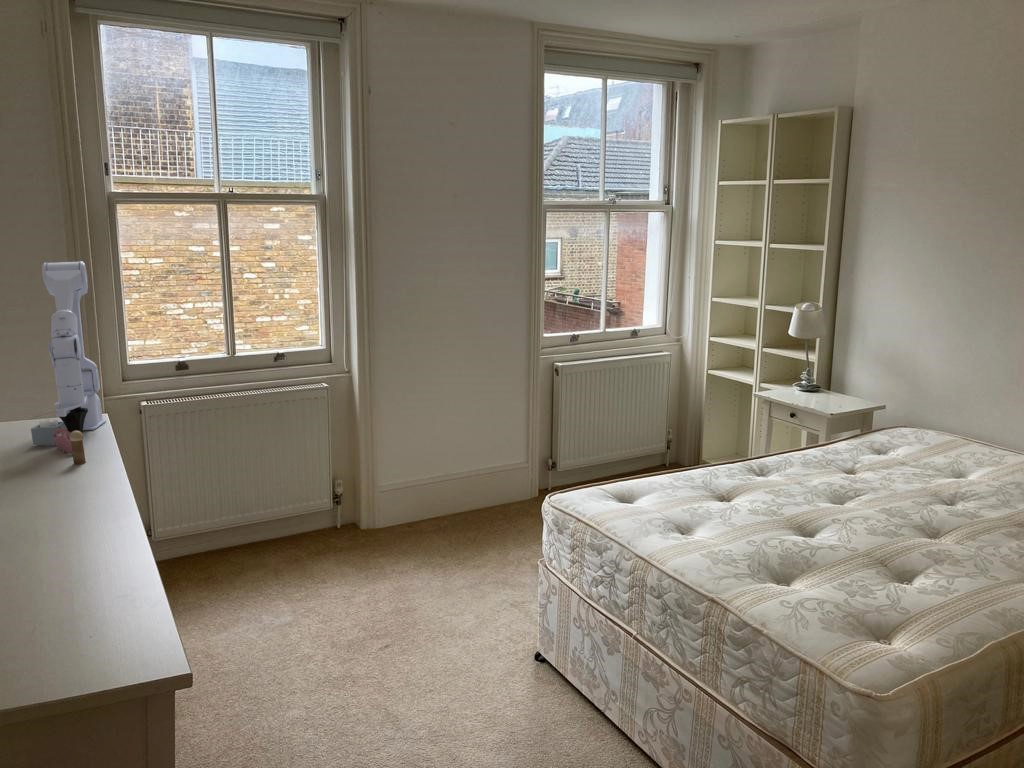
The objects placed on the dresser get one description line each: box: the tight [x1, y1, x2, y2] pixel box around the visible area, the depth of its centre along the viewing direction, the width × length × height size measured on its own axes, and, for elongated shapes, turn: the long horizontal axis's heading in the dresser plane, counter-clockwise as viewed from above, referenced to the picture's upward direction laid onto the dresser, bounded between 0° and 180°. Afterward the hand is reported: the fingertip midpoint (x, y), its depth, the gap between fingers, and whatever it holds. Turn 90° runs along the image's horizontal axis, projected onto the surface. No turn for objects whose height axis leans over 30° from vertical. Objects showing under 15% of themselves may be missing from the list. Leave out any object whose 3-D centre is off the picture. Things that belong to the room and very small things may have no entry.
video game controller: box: [52, 427, 73, 455], centre depth 199 cm, size 10×5×7 cm, turn 25°
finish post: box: [69, 431, 87, 465], centre depth 188 cm, size 3×3×8 cm
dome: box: [38, 418, 59, 427], centre depth 207 cm, size 4×4×4 cm
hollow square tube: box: [30, 421, 67, 446], centre depth 207 cm, size 6×6×4 cm
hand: (76, 438), depth 206 cm, fingers closed
